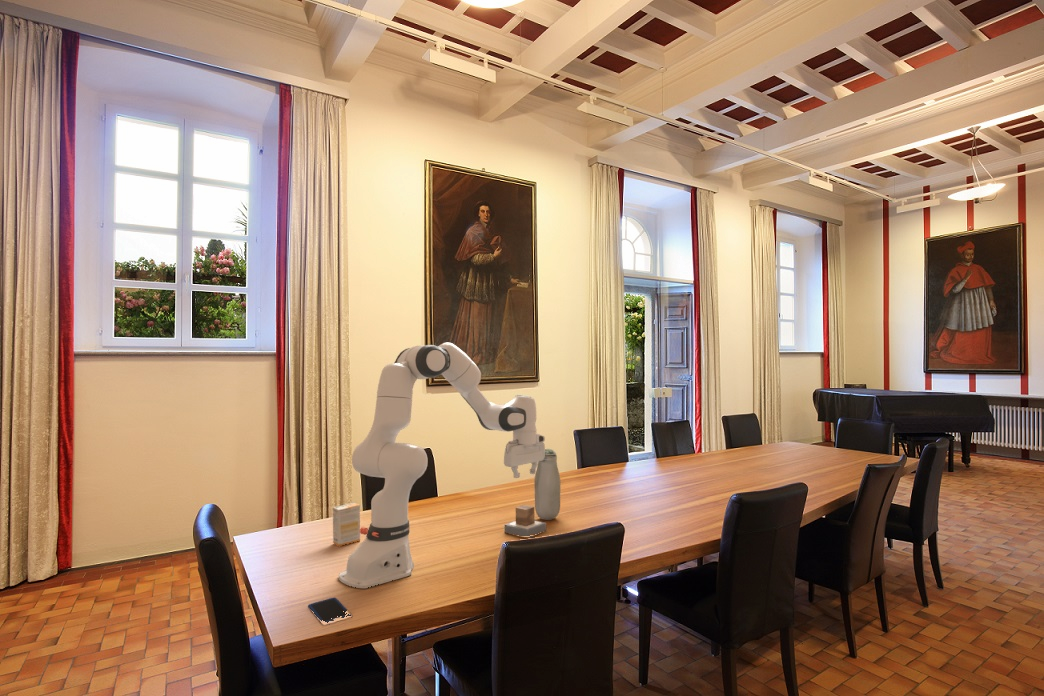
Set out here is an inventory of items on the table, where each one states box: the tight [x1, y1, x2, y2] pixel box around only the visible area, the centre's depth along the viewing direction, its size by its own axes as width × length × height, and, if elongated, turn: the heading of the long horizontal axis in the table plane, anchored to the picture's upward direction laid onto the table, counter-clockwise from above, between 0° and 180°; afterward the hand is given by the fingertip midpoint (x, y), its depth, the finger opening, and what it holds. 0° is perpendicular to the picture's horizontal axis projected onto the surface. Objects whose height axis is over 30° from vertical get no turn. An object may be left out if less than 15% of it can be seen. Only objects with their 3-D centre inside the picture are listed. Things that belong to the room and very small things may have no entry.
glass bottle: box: [534, 448, 561, 521], centre depth 216 cm, size 10×10×28 cm
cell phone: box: [307, 597, 351, 623], centre depth 138 cm, size 7×14×1 cm, turn 37°
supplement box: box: [332, 502, 361, 547], centre depth 190 cm, size 8×5×13 cm, turn 135°
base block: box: [504, 520, 547, 539], centre depth 200 cm, size 11×11×3 cm
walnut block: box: [515, 504, 536, 526], centre depth 200 cm, size 5×5×6 cm
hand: (524, 475), depth 200 cm, fingers open, 8 cm apart
